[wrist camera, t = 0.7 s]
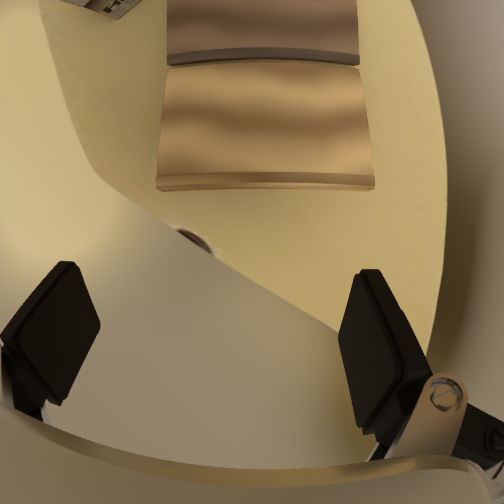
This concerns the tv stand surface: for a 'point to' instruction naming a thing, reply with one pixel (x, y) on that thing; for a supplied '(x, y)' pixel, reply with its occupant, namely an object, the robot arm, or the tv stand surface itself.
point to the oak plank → (264, 128)
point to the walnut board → (262, 30)
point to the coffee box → (106, 6)
